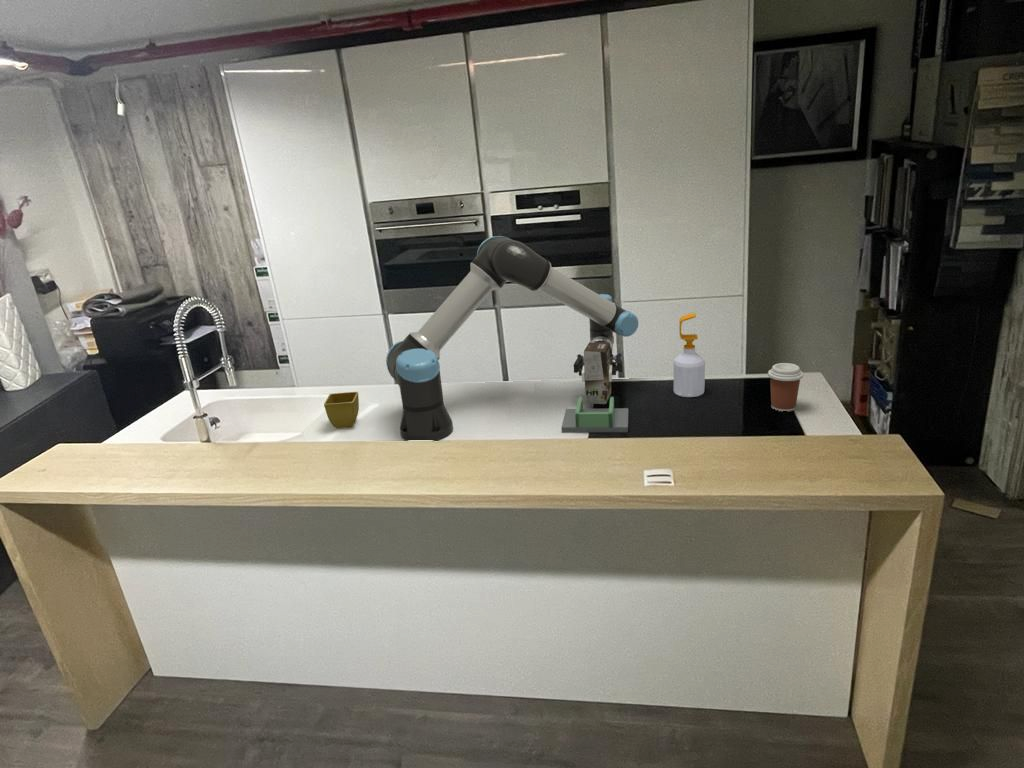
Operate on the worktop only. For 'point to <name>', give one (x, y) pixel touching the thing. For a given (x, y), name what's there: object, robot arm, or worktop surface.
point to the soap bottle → (689, 367)
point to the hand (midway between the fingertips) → (596, 377)
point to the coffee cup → (784, 386)
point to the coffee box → (597, 372)
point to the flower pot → (342, 409)
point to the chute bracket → (595, 419)
